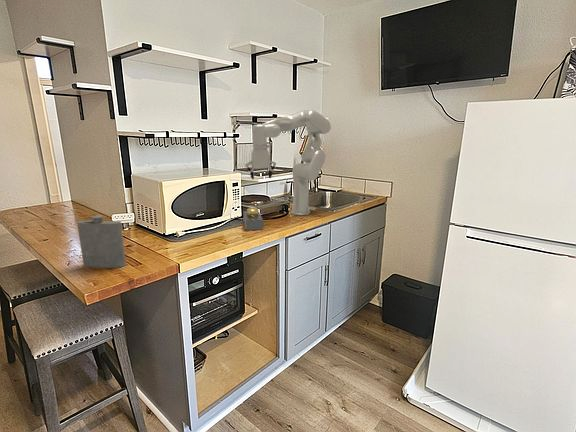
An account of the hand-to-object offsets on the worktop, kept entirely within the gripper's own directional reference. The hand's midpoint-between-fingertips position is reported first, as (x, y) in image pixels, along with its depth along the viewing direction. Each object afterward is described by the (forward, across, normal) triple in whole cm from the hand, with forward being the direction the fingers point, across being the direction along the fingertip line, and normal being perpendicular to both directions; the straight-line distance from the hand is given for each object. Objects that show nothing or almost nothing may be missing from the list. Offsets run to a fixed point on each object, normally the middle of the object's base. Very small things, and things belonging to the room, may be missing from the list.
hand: (261, 178), depth 186 cm
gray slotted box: (+24, +7, +8) cm, 27 cm away
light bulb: (+24, +7, +8) cm, 26 cm away
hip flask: (+21, +70, +54) cm, 91 cm away
